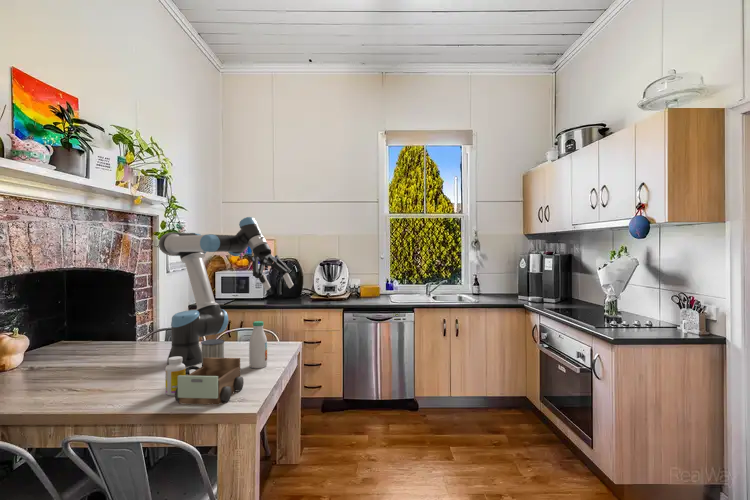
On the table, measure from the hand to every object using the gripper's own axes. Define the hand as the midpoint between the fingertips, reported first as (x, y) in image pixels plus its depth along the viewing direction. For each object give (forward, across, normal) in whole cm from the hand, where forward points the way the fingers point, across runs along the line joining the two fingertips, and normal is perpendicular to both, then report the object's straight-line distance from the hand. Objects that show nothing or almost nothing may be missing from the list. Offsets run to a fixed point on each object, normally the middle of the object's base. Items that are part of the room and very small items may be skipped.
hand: (280, 287), depth 179 cm
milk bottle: (+21, +1, +33) cm, 39 cm away
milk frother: (+17, -22, +38) cm, 48 cm away
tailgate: (+30, -42, +16) cm, 54 cm away
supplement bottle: (+22, -40, +32) cm, 55 cm away
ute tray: (+29, -34, +21) cm, 49 cm away
